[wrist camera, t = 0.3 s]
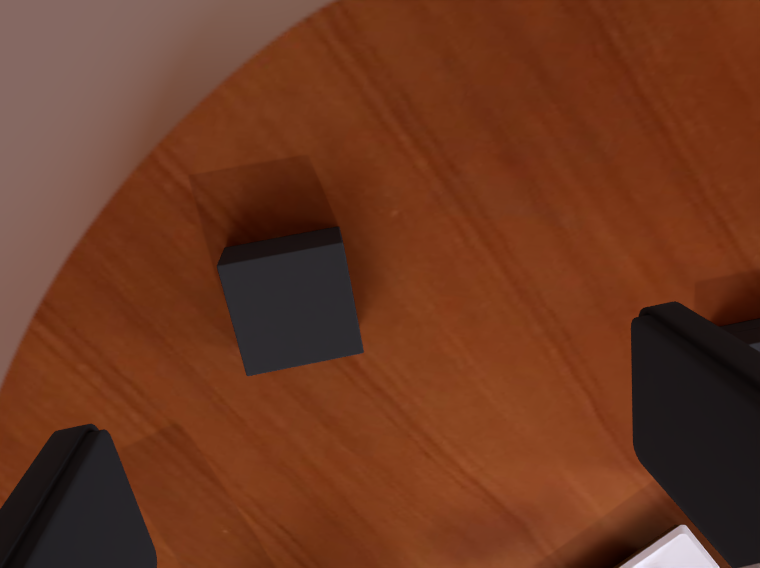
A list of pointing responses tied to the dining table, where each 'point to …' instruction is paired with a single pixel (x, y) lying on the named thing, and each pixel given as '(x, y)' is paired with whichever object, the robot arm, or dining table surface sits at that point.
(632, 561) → the plate
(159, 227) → the dining table surface
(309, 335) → the small pad
